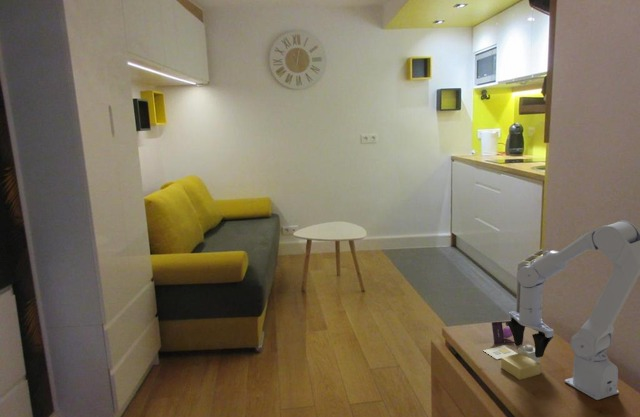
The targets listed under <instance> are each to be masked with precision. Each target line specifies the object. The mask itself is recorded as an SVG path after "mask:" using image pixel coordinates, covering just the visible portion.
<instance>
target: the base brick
mask: <svg viewBox="0 0 640 417" xmlns="http://www.w3.org/2000/svg"><path fill="white" fill-rule="evenodd" d="M517 353H518V352H517ZM500 360H501V362H500V363H501V366H500V368H501V369H503V370H504V371H506V372H507V373H509V374H510V375H512V376H513V377H515V378H517V379H518V380H519V381H520V380H524V379H527V378H531V377H536V376H538V375H540V374H541V363H540V362H539V363H538V362H536V361H534V360H532V359H531V358H529V357H527V356H525V355H524V354H522V353H518V354H515V355H511V356H507V357H503V358H501V359H500Z"/></svg>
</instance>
